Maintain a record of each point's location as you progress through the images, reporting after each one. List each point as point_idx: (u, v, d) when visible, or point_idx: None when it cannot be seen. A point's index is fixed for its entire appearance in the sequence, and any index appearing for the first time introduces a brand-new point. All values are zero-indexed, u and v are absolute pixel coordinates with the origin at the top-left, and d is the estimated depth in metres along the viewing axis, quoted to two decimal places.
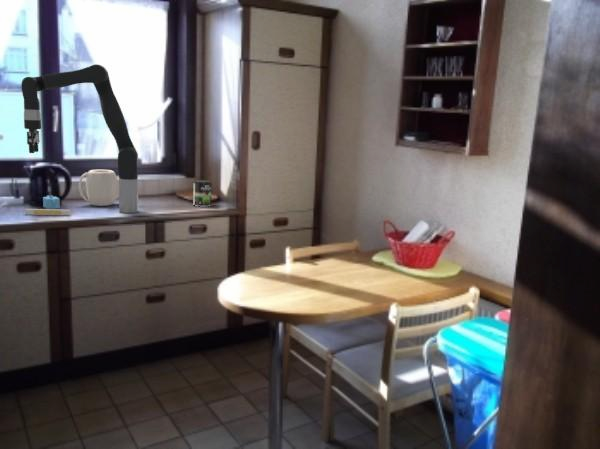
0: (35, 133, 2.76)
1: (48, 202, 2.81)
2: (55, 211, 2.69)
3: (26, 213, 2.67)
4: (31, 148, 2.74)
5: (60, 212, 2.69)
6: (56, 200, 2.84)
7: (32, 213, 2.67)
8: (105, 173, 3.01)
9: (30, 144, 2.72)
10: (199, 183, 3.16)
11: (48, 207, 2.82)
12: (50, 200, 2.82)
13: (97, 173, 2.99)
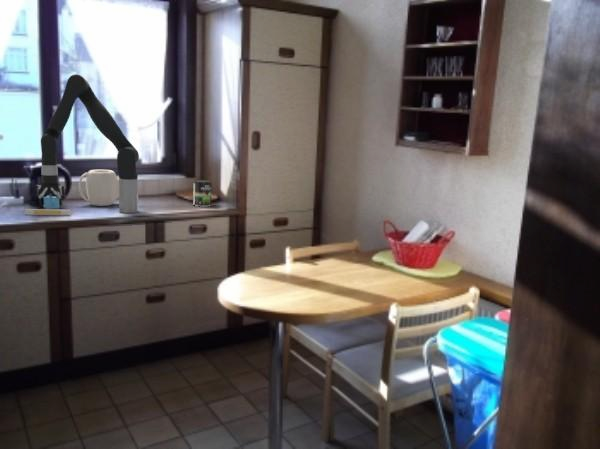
0: None
1: (48, 202, 2.81)
2: (55, 211, 2.69)
3: (26, 213, 2.67)
4: (61, 201, 2.88)
5: (60, 212, 2.69)
6: (56, 200, 2.84)
7: (32, 213, 2.67)
8: (105, 173, 3.01)
9: (63, 197, 2.87)
10: (199, 183, 3.16)
11: (48, 207, 2.82)
12: (50, 200, 2.82)
13: (97, 173, 2.99)
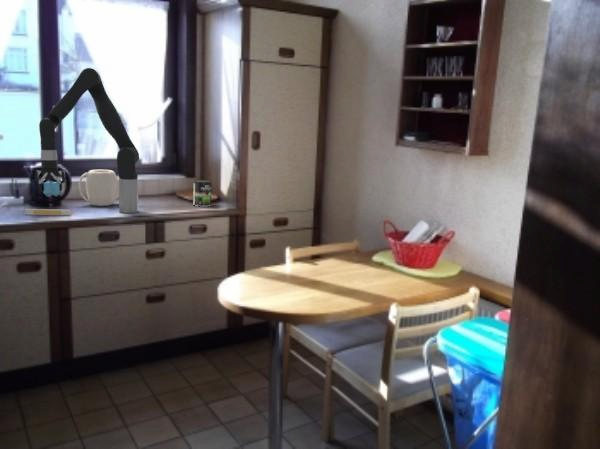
0: None
1: (48, 187, 2.80)
2: (55, 211, 2.69)
3: (26, 213, 2.67)
4: (61, 186, 2.86)
5: (60, 212, 2.69)
6: (56, 185, 2.82)
7: (32, 213, 2.67)
8: (105, 173, 3.01)
9: (63, 182, 2.85)
10: (199, 183, 3.16)
11: (48, 192, 2.80)
12: (50, 185, 2.80)
13: (97, 173, 2.99)
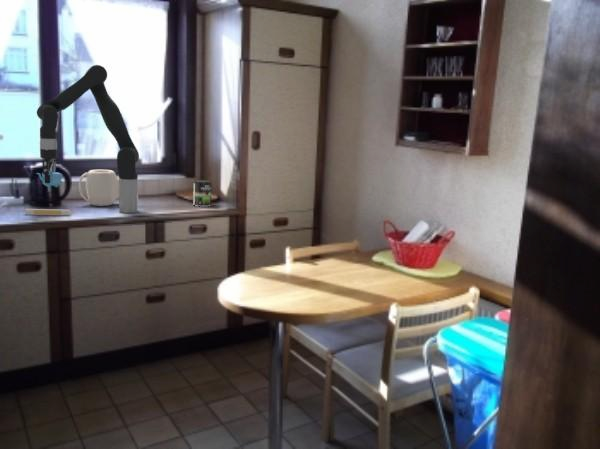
0: None
1: None
2: (55, 211, 2.69)
3: (26, 213, 2.67)
4: None
5: (60, 212, 2.69)
6: None
7: (32, 213, 2.67)
8: (105, 173, 3.01)
9: None
10: (199, 183, 3.16)
11: None
12: None
13: (97, 173, 2.99)
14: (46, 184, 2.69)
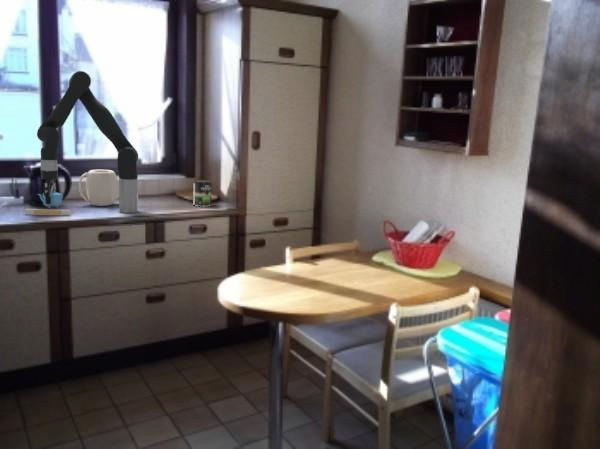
0: None
1: None
2: (55, 211, 2.69)
3: (26, 213, 2.67)
4: None
5: (60, 212, 2.69)
6: None
7: (32, 213, 2.67)
8: (105, 173, 3.01)
9: None
10: (199, 183, 3.16)
11: None
12: None
13: (97, 173, 2.99)
14: (47, 205, 2.70)
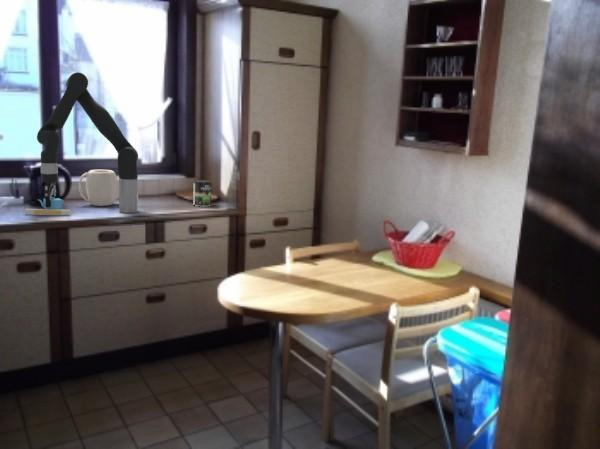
0: None
1: None
2: (55, 211, 2.69)
3: (26, 213, 2.67)
4: None
5: (60, 212, 2.69)
6: None
7: (32, 213, 2.67)
8: (105, 173, 3.01)
9: None
10: (199, 183, 3.16)
11: None
12: None
13: (97, 173, 2.99)
14: None
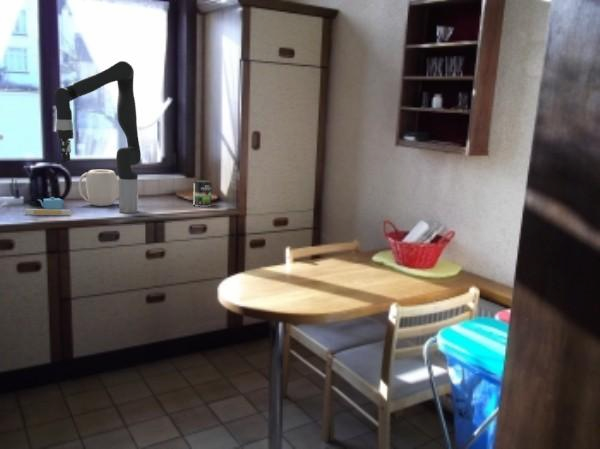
0: None
1: None
2: (55, 211, 2.69)
3: (26, 213, 2.67)
4: None
5: (60, 212, 2.69)
6: None
7: (32, 213, 2.67)
8: (105, 173, 3.01)
9: None
10: (199, 183, 3.16)
11: None
12: None
13: (97, 173, 2.99)
14: None
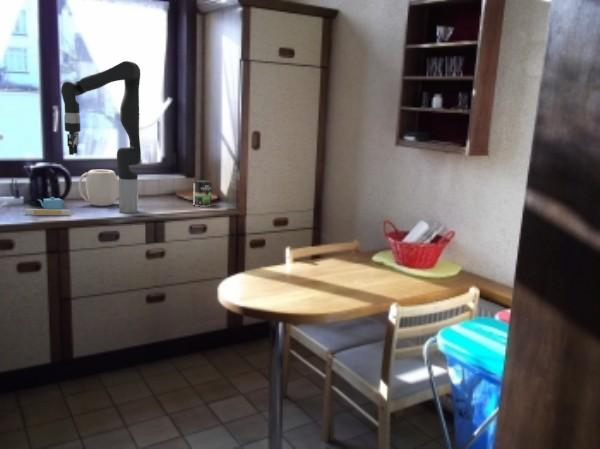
0: None
1: None
2: (55, 211, 2.69)
3: (26, 213, 2.67)
4: None
5: (60, 212, 2.69)
6: None
7: (32, 213, 2.67)
8: (105, 173, 3.01)
9: None
10: (199, 183, 3.16)
11: None
12: None
13: (97, 173, 2.99)
14: None
